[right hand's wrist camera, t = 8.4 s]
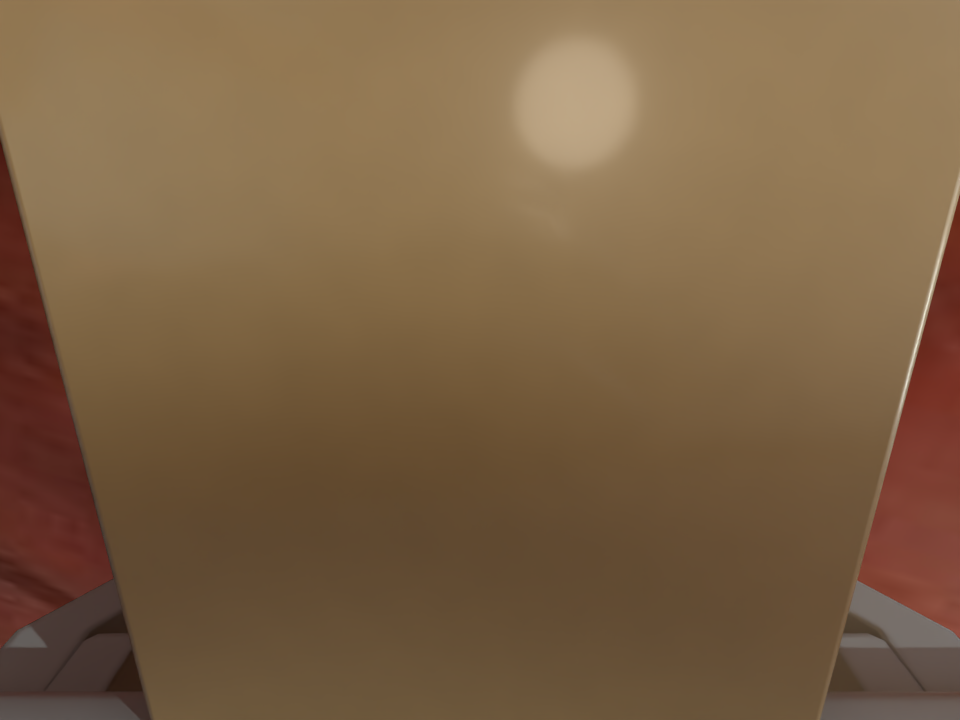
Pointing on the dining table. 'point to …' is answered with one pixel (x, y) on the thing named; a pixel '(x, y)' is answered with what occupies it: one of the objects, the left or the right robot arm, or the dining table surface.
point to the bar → (484, 336)
